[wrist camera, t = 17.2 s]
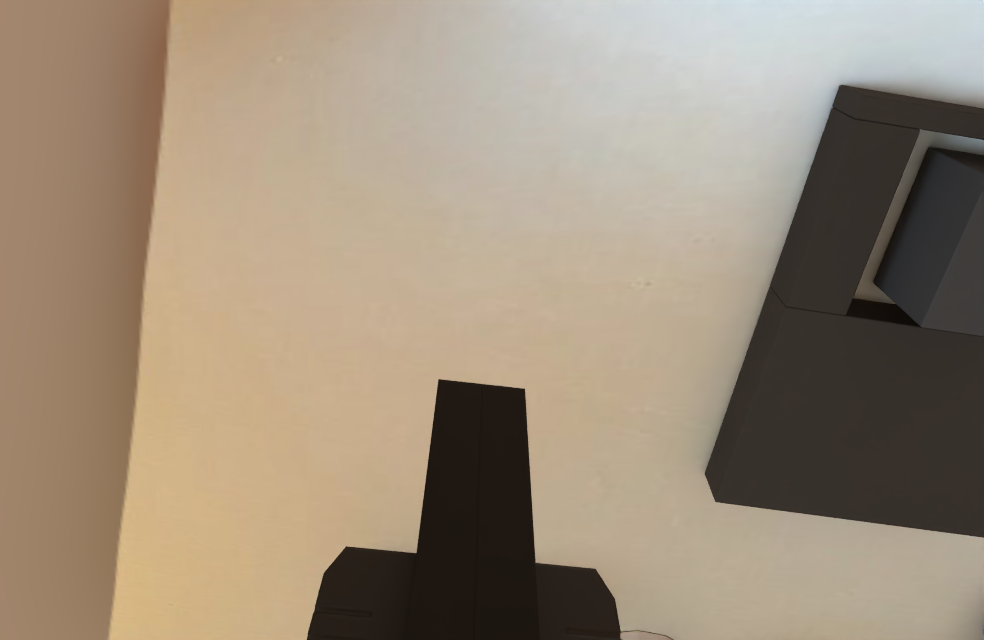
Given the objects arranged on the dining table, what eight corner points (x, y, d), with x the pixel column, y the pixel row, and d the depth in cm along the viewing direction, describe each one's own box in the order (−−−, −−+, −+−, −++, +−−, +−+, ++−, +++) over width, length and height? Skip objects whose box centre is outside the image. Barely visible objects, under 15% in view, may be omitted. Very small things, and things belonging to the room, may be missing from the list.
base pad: (968, 509, 45) (992, 539, 43) (704, 473, 44) (715, 502, 42) (1173, 140, 35) (1218, 154, 33) (839, 84, 34) (862, 94, 32)
